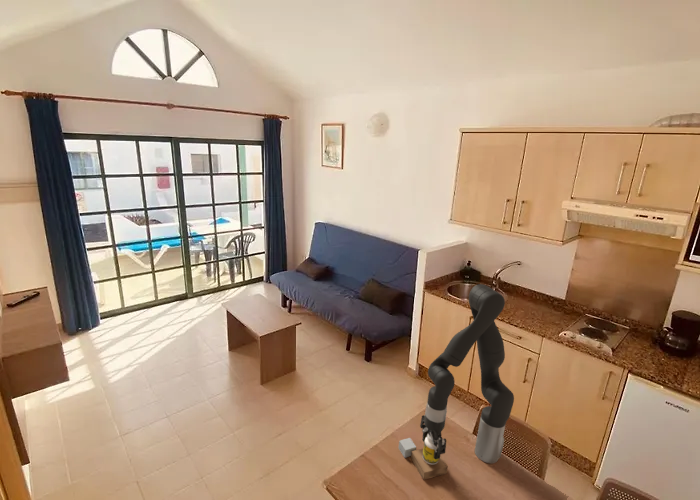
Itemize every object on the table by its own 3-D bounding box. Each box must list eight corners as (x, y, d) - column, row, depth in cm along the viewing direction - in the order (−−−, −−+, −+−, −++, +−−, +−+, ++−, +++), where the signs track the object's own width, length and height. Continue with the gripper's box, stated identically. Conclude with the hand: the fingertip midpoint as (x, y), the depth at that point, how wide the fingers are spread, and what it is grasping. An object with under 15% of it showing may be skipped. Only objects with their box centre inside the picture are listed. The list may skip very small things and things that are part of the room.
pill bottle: (419, 455, 142) (422, 432, 138) (431, 450, 144) (434, 427, 141) (429, 467, 136) (432, 444, 133) (441, 462, 139) (445, 438, 136)
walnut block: (432, 452, 147) (433, 445, 146) (446, 473, 138) (447, 466, 137) (410, 458, 144) (411, 451, 143) (423, 479, 135) (424, 472, 134)
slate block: (409, 445, 151) (410, 437, 149) (415, 454, 146) (416, 446, 145) (398, 448, 149) (399, 440, 148) (404, 458, 144) (405, 450, 143)
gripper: (455, 426, 129) (449, 462, 134) (434, 399, 142) (429, 433, 147) (436, 430, 127) (431, 466, 131) (417, 403, 140) (413, 437, 144)
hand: (430, 449), depth 139 cm, fingers open, 8 cm apart
